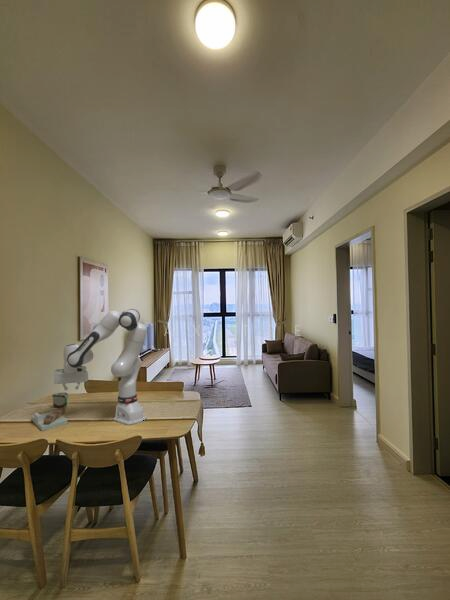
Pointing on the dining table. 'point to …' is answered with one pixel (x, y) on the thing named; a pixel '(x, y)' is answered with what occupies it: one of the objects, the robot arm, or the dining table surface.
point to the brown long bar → (54, 416)
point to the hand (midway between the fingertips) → (71, 389)
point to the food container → (60, 400)
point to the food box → (60, 421)
